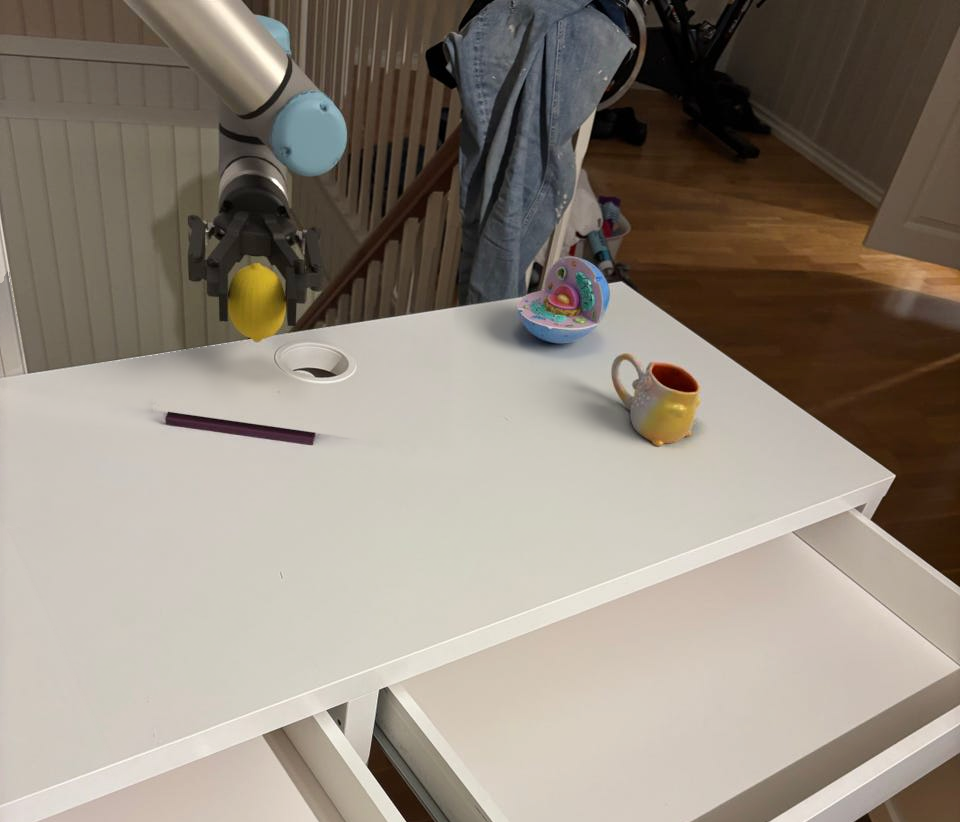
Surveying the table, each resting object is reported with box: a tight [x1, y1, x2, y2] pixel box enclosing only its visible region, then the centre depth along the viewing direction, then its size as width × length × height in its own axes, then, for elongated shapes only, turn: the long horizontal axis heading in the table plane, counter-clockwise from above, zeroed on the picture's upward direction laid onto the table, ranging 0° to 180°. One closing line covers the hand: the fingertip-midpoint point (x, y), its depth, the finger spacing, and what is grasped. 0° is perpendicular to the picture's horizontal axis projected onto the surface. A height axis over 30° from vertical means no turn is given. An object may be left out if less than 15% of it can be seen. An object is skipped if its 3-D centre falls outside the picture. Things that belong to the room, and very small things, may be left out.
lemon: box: [228, 262, 287, 343], centre depth 95 cm, size 6×6×8 cm
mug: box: [610, 352, 701, 447], centre depth 107 cm, size 12×7×7 cm, turn 35°
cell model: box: [516, 255, 611, 344], centre depth 116 cm, size 10×12×10 cm
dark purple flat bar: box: [164, 411, 316, 446], centre depth 95 cm, size 14×5×1 cm, turn 90°
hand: (258, 309), depth 90 cm, fingers closed on lemon, 5 cm apart
